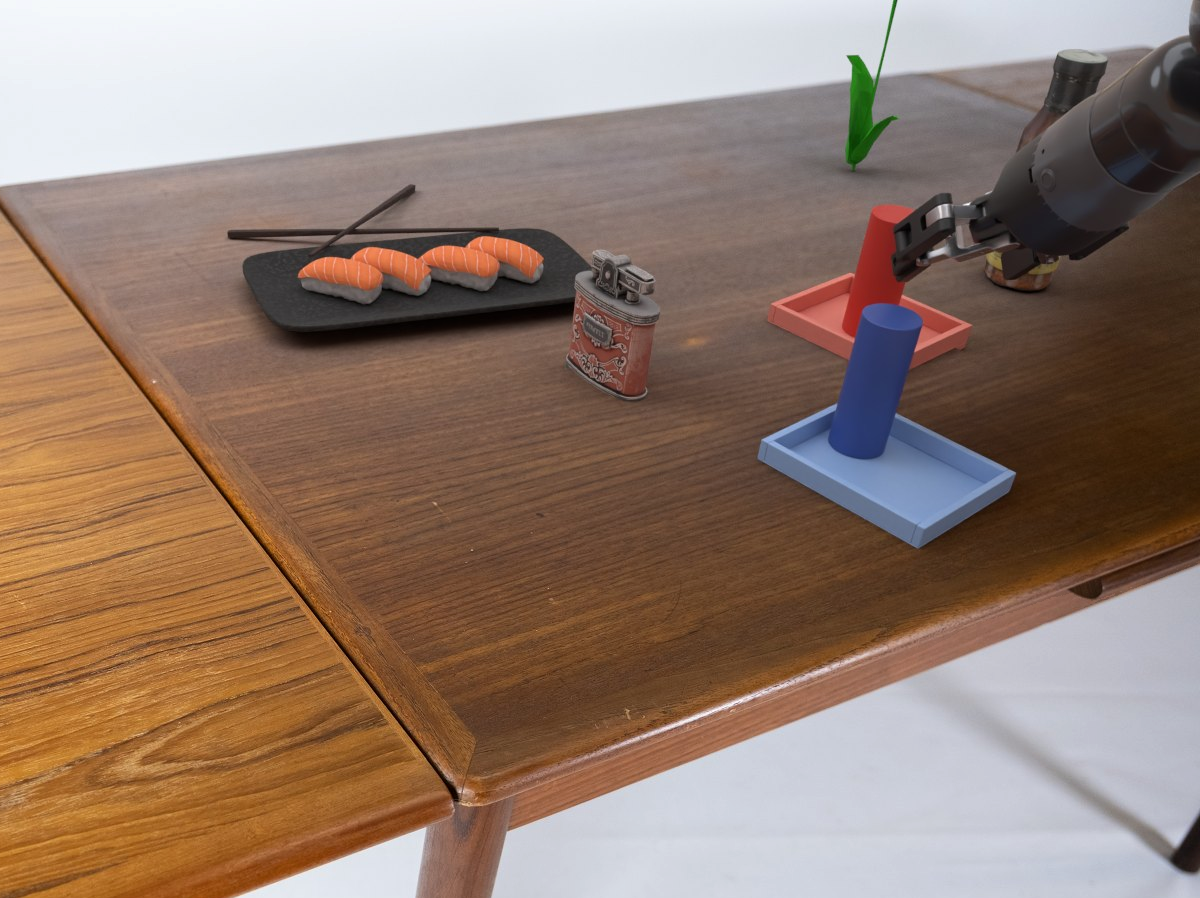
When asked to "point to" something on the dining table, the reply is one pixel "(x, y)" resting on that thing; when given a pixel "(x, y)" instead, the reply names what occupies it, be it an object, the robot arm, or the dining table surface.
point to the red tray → (821, 324)
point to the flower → (864, 107)
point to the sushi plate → (408, 274)
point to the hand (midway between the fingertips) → (952, 268)
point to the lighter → (613, 326)
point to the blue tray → (891, 476)
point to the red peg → (875, 266)
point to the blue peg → (874, 380)
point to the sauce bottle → (1067, 89)
